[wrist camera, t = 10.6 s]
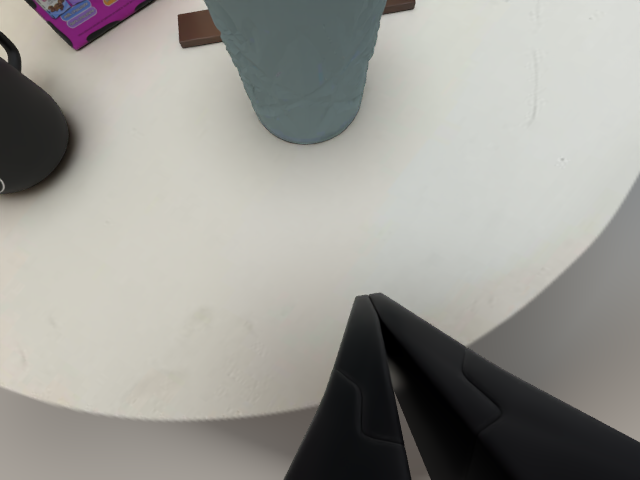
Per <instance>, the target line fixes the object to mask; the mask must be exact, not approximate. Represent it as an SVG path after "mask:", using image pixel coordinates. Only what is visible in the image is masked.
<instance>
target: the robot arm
mask: <svg viewBox="0 0 640 480" xmlns="http://www.w3.org/2000/svg"><path fill="white" fill-rule="evenodd" d="M393 389H394V390H393ZM394 392H395V394H396V396H397V399H398V401H399V404H400V406H401V408H402V411H403V413H404V416H405V418H406V421H407V423H408V425H409V428H410V430H411V433H412V435H413V437H414V440H415V442H416V445H417V447H418V449H419V452H420V454H421V457H422V459H423V462H424V464H425V466H426V468H427V471H428V474H429V476H430V478H431V480H640V442H638V441H636V440H634V439H632V438H630V437H629V436H627V435H625V434H623V433H621V432H619V431H617V430H615V429H614V428H611V427H610V426H608V425H606V424H604V423H602V422H600V421H598V420H596V419H595V418H593V417H591V416H589V415H587V414H585V413H583V412H582V411H580V410H578V409H576V408H574V407H572V406H570V405H568V404H566V403H565V402H563V401H561V400H559V399H557V398H555V397H553V396H552V395H549V394H548V393H546V392H544V391H542V390H540V389H538V388H537V387H535V386H533V385H531V384H529V383H527V382H525V381H523V380H521V379H520V378H518V377H516V376H514V375H513V374H510V373H509V372H507V371H505V370H504V369H501V368H500V367H498V366H497V365H495V364H493V363H492V362H490V361H488V360H486V359H485V358H483V357H482V356H480V355H479V354H477V353H475V352H474V351H472V350H471V349H469V348H466V347H465V346H464V345H462V344H461V343H459V342H457V341H456V340H454V339H453V338H451V337H450V336H448V335H447V334H445V333H443V332H442V331H440V330H439V329H437V328H436V327H434V326H432V325H431V324H429V323H428V322H426V321H425V320H423V319H422V318H420V317H418V316H417V315H415V314H414V313H412V312H411V311H409V310H407V309H406V308H404V307H403V306H401V305H400V304H398V303H397V302H395V301H393V300H392V299H390V298H389V297H387V296H386V295H384V294H382V293H374V294H370V295H369V296H368V295H361V296H356V298H355V300H354V303H353V307H352V310H351V313H350V316H349V319H348V323H347V326H346V329H345V332H344V335H343V339H342V342H341V345H340V348H339V351H338V355H337V358H336V361H335V364H334V367H333V370H332V373H331V376H330V379H329V382H328V385H327V388H326V390H325V393H324V396H323V398H322V400H321V403H320V405H319V407H318V410H317V412H316V414H315V416H314V418H313V420H312V422H311V424H310V427H309V429H308V431H307V433H306V435H305V437H304V439H303V441H302V443H301V445H300V447H299V449H298V452H297V453H296V455H295V457H294V460H293V462H292V464H291V466H290V468H289V470H288V472H287V474H286V476H285V478H284V480H411V476H410V470H409V465H408V460H407V455H406V450H405V447H404V441H403V436H402V431H401V425H400V421H399V415H398V410H397V406H396V400H395V395H394Z"/></svg>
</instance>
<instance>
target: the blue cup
mask: <svg viewBox="0 0 640 480" xmlns="http://www.w3.org/2000/svg"><path fill="white" fill-rule="evenodd" d="M204 2H205V3H206V5H207V7H208V10H209V12H210V15H211V17H212V20H213V22H214V24H215V26H216V27H217V29H218V30H219V31H220V32H221V36H220V37H221V39H222V41H223V43H224V44H225V45H226V50H227V51H228V53H229V54H230V56H231V58H232V61H233V63H234V65H235V67H237V68H238V71H239V76H241V80H242V81H243V84H244V88H245V90H246V92H247V94H248V96H249V99H250V100H251V102H252V106H253V108H254V110H255V112H256V114H257V116H258V118H259V120H260V121H261V123H262V124H263V125H264V126H265V127H266V128H267V129H268V130H269V131H270V132H271V133H272V134H274V135H275V136H277V137H279V138H281V139H283V140H285V141H288V142H292V143H298V144H312V143H319V142H323V141H326V140H329V139H331V138H333V137H335V136H337V135H338V134H340V133H341V132H342V131H343V130H345V129H346V128H347V127H348V125H349V124H350V123H351V122H352V121H353V119H354V118H355V116H356V114H357V112H358V110H359V107H360V104H361V100H362V95H363V90H364V86H365V83H366V72H367V70H368V61H369V60H370V58H371V57H372V55H373V53H374V46H375V44H376V40H377V32H378V30H379V27H380V19H381V16H382V14H383V12H384V8H385V5H386V2H387V0H204Z"/></svg>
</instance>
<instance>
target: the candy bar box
mask: <svg viewBox="0 0 640 480" xmlns="http://www.w3.org/2000/svg"><path fill="white" fill-rule="evenodd" d="M25 1H26V2H27V3H28V4H29V5H30V6H31V7H32V8H33V9H34V10H35V11H36V12H37V13H38V14H39V15H40V16H41V17H42V18H43V19H44V20H45V21H46V22H47V23H48V24H49V25H50V26H51V27H52V28H53V29H54V30H55V32H56V33H57V34H58V35H59V36H60V37H61V38H62V39H63V40H65V41H66V42H67V43H68V44H69V45H70V46H71V47H72V48H73V49H75V50H77V49H80V48H81V47H83V46H85V45H86V44H88V43H89V42H91V41H92V40H94V39H95V38H97V37H98V36H100V35H101V34H103V33H104V32H106V31H107V30H109V29H110V28H112V27H114V26H115V25H116V24H118V23H119V22H121V21H123V20H124V19H126V18H127V17H129V16H130V15H132V14H133V13H135V12H136V11H138V10H139V9H141V8H142V7H144V6H145V5H147V4H148V3H149V2H151V1H152V0H25Z"/></svg>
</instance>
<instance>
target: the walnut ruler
mask: <svg viewBox="0 0 640 480" xmlns="http://www.w3.org/2000/svg"><path fill="white" fill-rule="evenodd" d="M414 6H415V0H387V2H386V5H385V8H384V12H383V14H385V13H391V12H397V11H403V10H408V9H414ZM178 26H179V42H180V44H181V46H182V48H186V47H192V46H197V45H203V44H209V43H215V42H221V41H222V39H221V37H220V36H221V32H220V31H219V30H218V29H217V27H216V26H215V24H214V22H213V20H212V17H211V15H210V12H209V10H203V11H197V12H191V13H185V14H179V15H178Z"/></svg>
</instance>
